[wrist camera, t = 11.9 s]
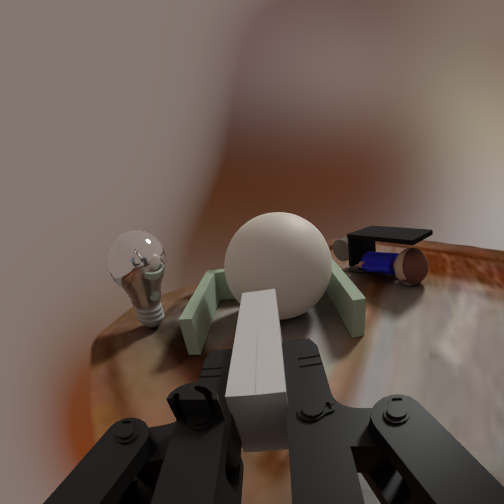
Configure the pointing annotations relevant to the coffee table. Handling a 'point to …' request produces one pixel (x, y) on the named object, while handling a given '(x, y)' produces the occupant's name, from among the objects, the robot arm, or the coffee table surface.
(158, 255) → the light bulb
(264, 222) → the ball
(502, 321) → the coffee table surface
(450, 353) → the coffee table surface
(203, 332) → the green u-shaped channel
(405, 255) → the figurine character
